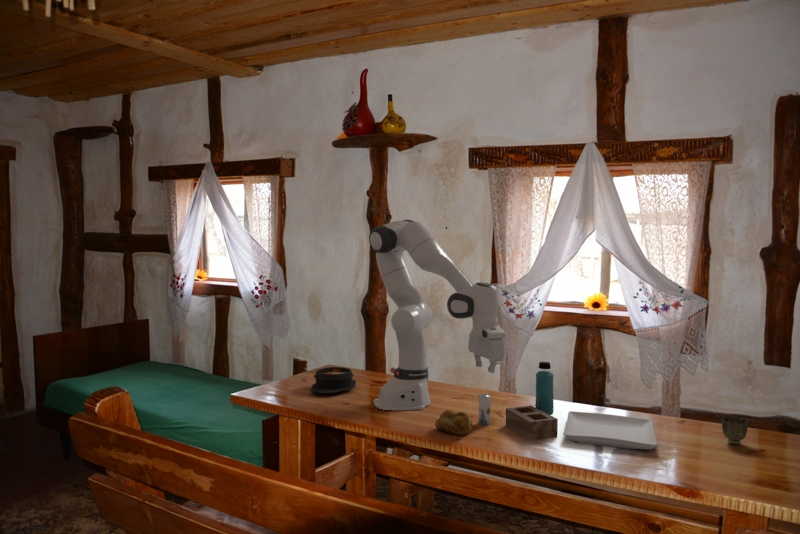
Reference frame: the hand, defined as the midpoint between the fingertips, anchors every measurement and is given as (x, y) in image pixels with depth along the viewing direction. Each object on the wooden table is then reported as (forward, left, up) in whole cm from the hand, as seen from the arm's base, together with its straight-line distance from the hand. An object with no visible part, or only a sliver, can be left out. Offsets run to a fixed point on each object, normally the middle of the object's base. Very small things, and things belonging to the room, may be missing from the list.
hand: (485, 369), depth 199 cm
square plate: (+33, -24, -20) cm, 45 cm away
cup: (+65, -43, -19) cm, 80 cm away
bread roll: (-13, -4, -19) cm, 24 cm away
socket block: (+11, -12, -19) cm, 25 cm away
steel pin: (0, 0, -19) cm, 19 cm away
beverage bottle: (+24, 0, -19) cm, 31 cm away
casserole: (-40, +62, -19) cm, 76 cm away
